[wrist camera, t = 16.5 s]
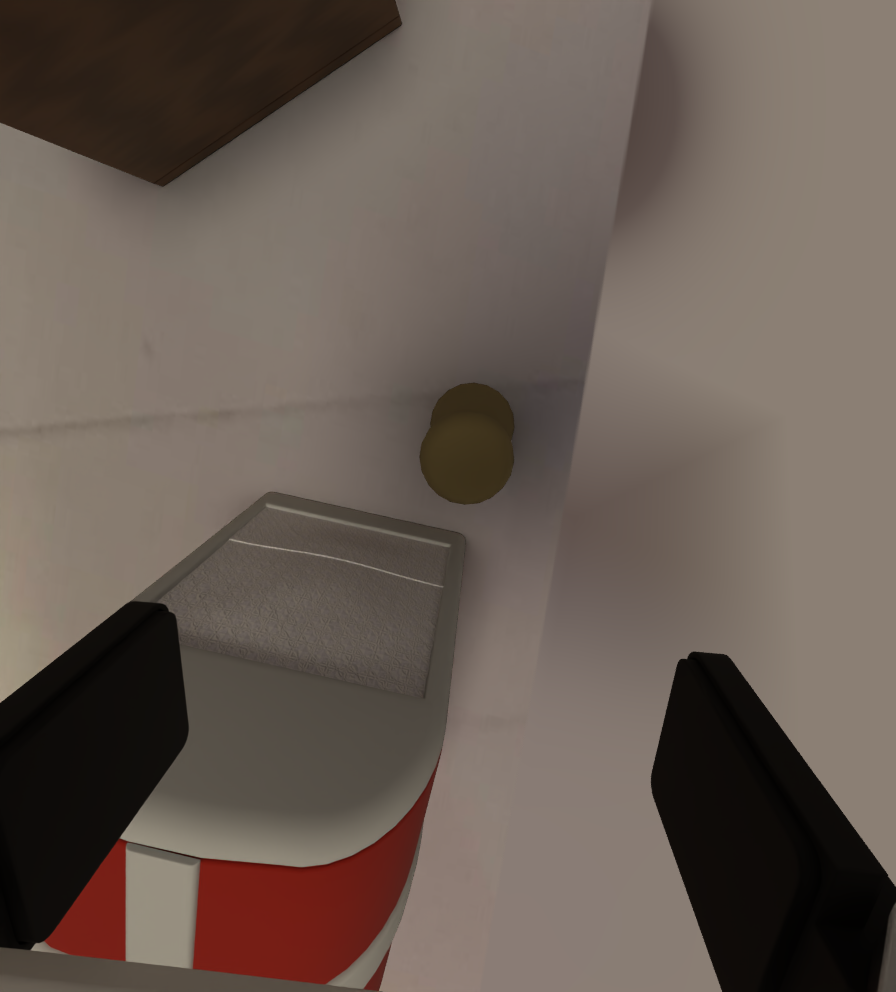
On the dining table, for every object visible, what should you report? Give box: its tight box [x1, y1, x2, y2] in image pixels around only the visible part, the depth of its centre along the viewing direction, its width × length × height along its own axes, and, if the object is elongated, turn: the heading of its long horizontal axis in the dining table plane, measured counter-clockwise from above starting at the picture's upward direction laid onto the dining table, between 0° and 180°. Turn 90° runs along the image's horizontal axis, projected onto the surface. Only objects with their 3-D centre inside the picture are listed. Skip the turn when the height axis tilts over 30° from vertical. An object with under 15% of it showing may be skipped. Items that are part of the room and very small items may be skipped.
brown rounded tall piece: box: [420, 383, 514, 505], centre depth 33 cm, size 6×6×11 cm
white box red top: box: [31, 492, 466, 991], centre depth 31 cm, size 17×18×27 cm
